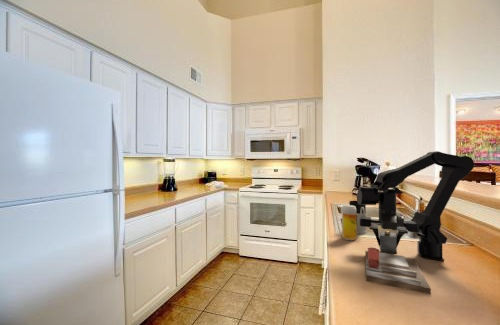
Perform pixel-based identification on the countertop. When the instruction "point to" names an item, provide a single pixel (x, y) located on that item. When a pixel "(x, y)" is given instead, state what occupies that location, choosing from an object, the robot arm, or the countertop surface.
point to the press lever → (373, 260)
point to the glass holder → (359, 212)
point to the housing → (387, 242)
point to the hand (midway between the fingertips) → (387, 246)
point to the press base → (398, 273)
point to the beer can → (349, 222)
